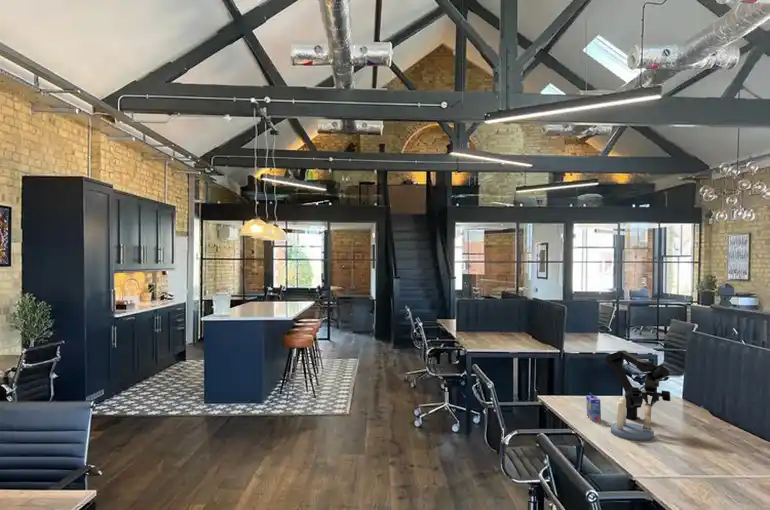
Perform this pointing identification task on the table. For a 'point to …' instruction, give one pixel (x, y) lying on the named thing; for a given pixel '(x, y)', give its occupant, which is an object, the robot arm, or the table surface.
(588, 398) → the ink cartridge box
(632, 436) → the round peg stand
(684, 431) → the table surface
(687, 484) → the table surface
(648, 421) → the hinged leg
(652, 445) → the table surface
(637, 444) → the table surface
